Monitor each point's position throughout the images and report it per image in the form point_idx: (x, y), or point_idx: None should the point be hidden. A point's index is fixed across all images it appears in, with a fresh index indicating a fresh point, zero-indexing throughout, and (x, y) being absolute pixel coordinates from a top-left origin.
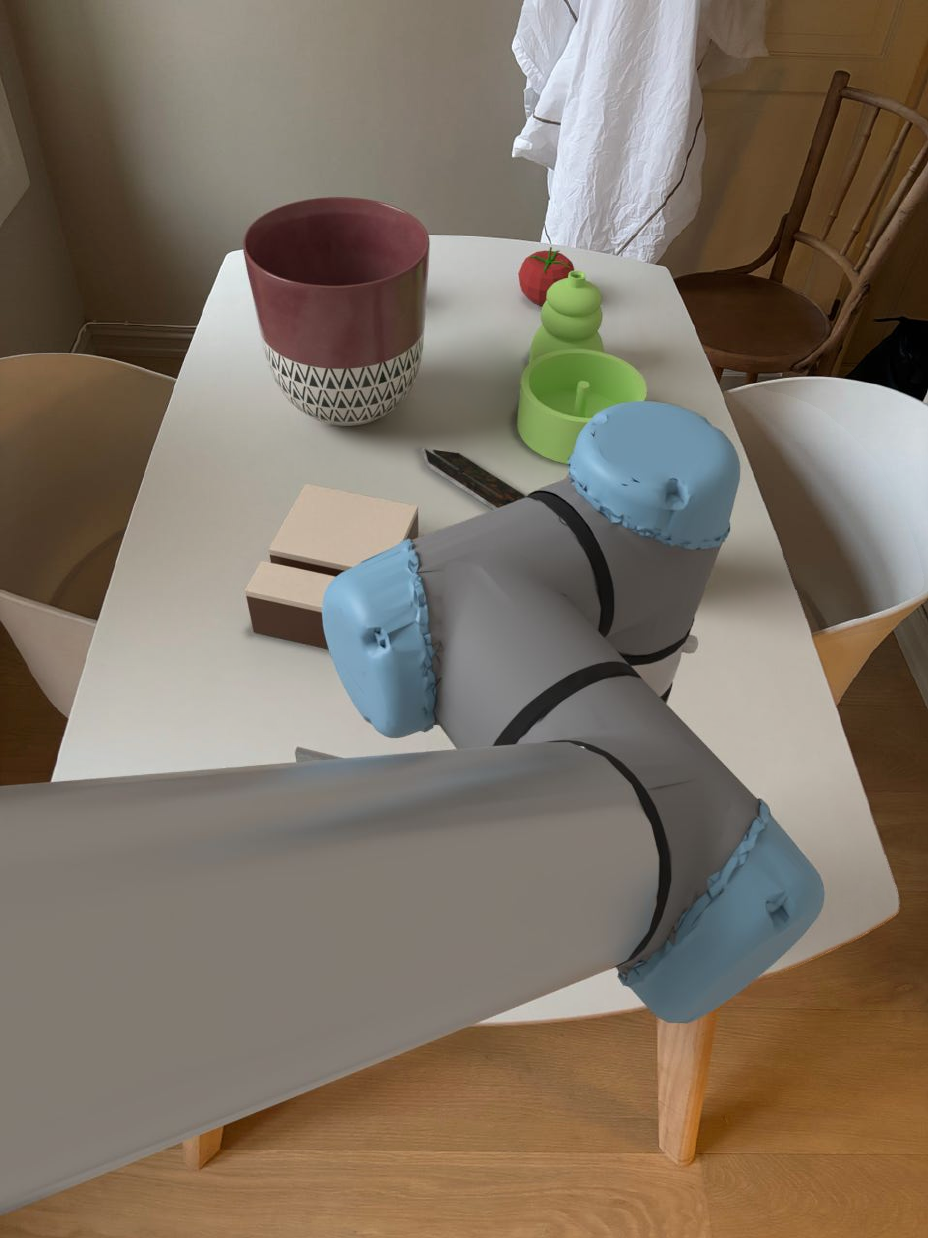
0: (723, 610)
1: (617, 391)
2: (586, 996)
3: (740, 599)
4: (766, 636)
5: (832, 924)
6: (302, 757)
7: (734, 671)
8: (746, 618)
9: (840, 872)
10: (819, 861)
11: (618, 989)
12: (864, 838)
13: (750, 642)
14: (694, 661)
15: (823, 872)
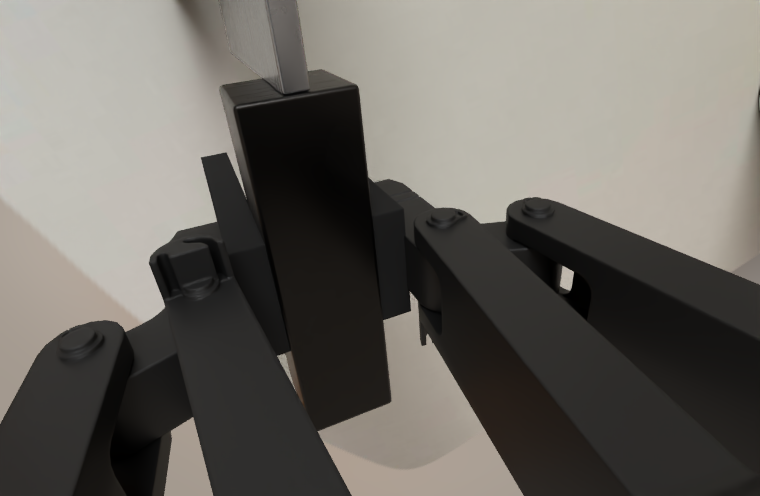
0: (743, 198)
1: None
2: (101, 271)
3: (756, 211)
4: (706, 257)
5: (372, 449)
6: None
7: (662, 243)
8: (731, 227)
9: (435, 430)
10: (441, 411)
11: (147, 305)
12: (479, 430)
13: (699, 244)
14: (675, 193)
15: (429, 419)
